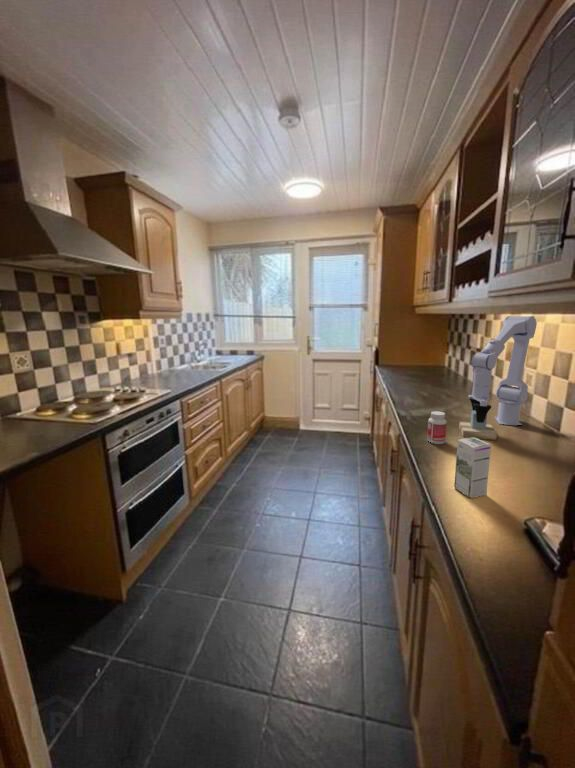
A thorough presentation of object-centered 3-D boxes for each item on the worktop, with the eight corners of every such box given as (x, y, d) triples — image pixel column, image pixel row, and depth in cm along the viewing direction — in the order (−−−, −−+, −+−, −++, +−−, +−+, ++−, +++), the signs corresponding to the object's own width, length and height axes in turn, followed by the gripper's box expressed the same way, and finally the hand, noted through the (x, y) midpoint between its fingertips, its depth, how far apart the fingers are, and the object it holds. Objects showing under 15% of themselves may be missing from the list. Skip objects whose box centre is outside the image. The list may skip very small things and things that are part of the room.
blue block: (470, 424, 134) (471, 410, 132) (483, 425, 132) (484, 411, 131) (472, 428, 130) (473, 413, 128) (485, 429, 128) (487, 414, 127)
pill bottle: (448, 442, 124) (450, 413, 121) (438, 446, 120) (440, 416, 118) (433, 437, 129) (435, 409, 126) (423, 441, 126) (425, 412, 123)
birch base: (459, 427, 138) (459, 421, 138) (489, 429, 135) (490, 423, 134) (463, 436, 128) (463, 430, 128) (496, 439, 125) (497, 433, 124)
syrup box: (487, 495, 89) (492, 443, 86) (469, 499, 87) (474, 447, 84) (470, 485, 94) (474, 436, 91) (452, 488, 92) (456, 438, 89)
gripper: (466, 380, 135) (463, 412, 138) (472, 388, 122) (469, 424, 125) (486, 381, 133) (483, 414, 136) (495, 389, 120) (491, 425, 123)
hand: (478, 419), depth 130 cm, fingers open, 7 cm apart
